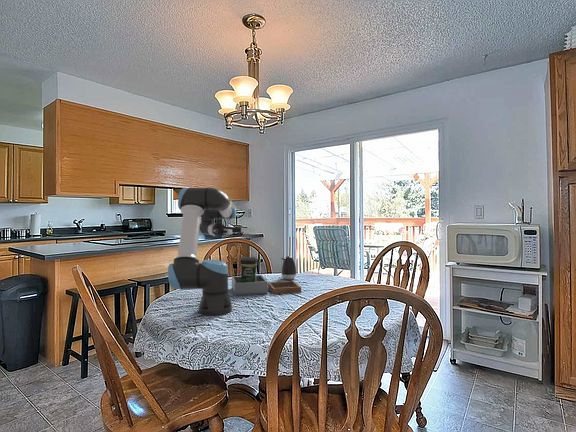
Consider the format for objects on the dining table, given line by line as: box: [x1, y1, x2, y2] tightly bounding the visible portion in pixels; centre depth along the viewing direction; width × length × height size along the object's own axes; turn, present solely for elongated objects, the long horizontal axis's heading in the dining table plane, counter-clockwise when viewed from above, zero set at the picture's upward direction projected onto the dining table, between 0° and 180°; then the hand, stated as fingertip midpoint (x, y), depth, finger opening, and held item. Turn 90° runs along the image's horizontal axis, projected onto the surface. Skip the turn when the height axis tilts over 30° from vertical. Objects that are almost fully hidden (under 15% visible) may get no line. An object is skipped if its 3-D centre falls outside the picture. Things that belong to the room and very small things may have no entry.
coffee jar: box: [239, 256, 258, 283], centre depth 193 cm, size 10×8×19 cm
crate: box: [231, 274, 269, 297], centre depth 193 cm, size 18×18×7 cm
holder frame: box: [268, 280, 302, 295], centre depth 196 cm, size 16×16×3 cm
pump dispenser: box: [280, 255, 298, 280], centre depth 226 cm, size 10×10×15 cm
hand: (240, 231), depth 197 cm, fingers open, 13 cm apart
